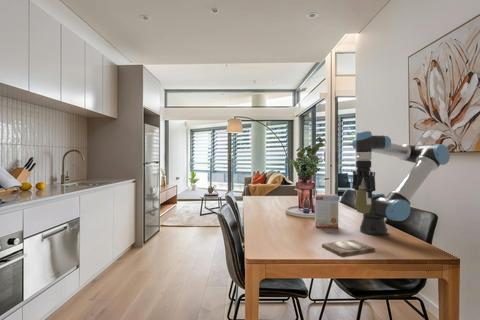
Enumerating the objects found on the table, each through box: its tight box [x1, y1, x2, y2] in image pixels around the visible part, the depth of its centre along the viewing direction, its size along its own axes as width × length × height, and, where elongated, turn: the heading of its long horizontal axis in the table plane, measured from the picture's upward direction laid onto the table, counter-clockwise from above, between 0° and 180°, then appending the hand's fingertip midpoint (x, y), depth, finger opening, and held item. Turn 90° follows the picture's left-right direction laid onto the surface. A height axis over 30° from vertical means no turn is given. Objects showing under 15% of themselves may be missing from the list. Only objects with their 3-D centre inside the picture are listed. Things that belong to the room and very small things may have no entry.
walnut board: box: [321, 239, 376, 257], centre depth 138 cm, size 20×14×2 cm
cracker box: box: [314, 193, 339, 229], centre depth 181 cm, size 14×6×21 cm, turn 84°
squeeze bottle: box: [354, 178, 372, 214], centre depth 151 cm, size 8×8×18 cm
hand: (363, 203), depth 151 cm, fingers closed on squeeze bottle, 6 cm apart
